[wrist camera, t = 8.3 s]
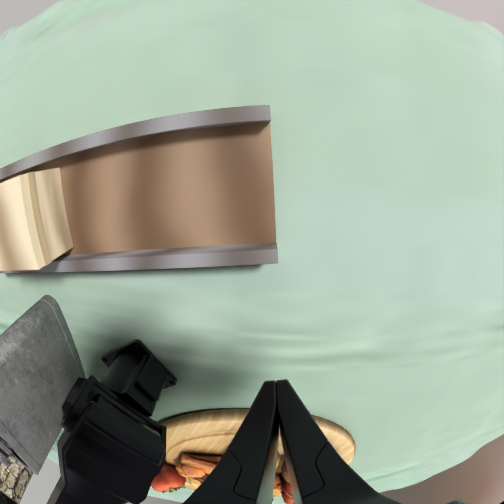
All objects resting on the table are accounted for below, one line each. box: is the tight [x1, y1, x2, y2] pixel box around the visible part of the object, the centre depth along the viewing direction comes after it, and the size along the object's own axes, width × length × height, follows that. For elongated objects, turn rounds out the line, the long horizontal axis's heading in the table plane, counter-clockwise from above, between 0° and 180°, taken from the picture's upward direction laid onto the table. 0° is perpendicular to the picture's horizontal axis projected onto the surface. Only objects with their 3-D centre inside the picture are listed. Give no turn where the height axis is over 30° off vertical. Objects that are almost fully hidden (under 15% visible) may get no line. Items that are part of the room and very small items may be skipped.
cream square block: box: [0, 167, 73, 271], centre depth 17 cm, size 7×7×5 cm
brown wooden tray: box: [0, 105, 278, 273], centre depth 19 cm, size 30×10×4 cm, turn 94°
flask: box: [0, 295, 85, 475], centre depth 18 cm, size 4×14×18 cm, turn 177°
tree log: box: [0, 456, 33, 503], centre depth 21 cm, size 7×7×25 cm
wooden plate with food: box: [151, 409, 355, 504], centre depth 30 cm, size 32×32×8 cm
